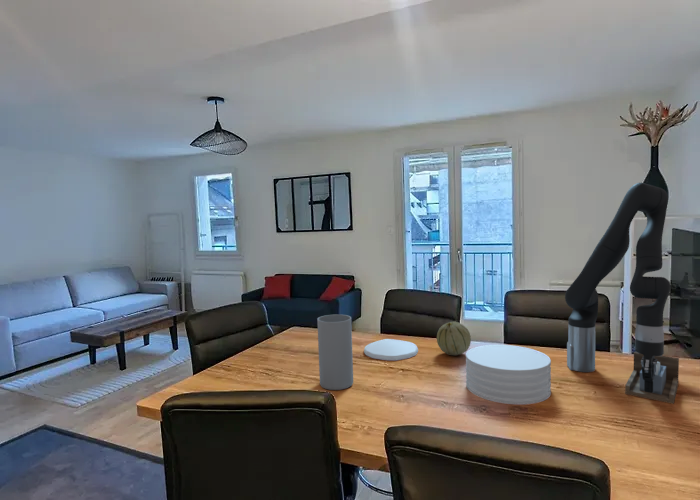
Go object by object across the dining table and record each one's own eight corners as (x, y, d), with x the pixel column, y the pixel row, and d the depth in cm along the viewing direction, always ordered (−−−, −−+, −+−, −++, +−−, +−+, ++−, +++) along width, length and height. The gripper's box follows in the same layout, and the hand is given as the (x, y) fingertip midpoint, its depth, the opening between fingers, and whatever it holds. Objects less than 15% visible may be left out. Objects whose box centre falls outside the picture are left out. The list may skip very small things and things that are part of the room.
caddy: (661, 394, 138) (662, 371, 138) (639, 390, 142) (639, 367, 142) (665, 383, 147) (666, 361, 146) (644, 379, 151) (645, 357, 150)
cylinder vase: (357, 379, 163) (355, 315, 161) (346, 392, 151) (344, 323, 149) (327, 376, 167) (325, 313, 165) (314, 389, 155) (311, 321, 153)
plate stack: (510, 412, 132) (510, 376, 131) (449, 383, 157) (449, 352, 156) (568, 392, 145) (569, 360, 144) (504, 368, 170) (504, 340, 169)
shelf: (673, 403, 134) (674, 375, 133) (625, 393, 142) (625, 366, 142) (678, 383, 149) (678, 358, 148) (634, 376, 158) (634, 351, 157)
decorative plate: (401, 355, 179) (353, 346, 194) (402, 364, 179) (353, 355, 194) (427, 340, 199) (382, 333, 214) (427, 349, 200) (382, 341, 214)
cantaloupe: (475, 352, 191) (474, 319, 190) (465, 362, 179) (464, 326, 178) (443, 347, 199) (443, 316, 198) (431, 356, 187) (431, 323, 186)
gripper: (661, 344, 129) (660, 400, 130) (666, 336, 139) (665, 388, 140) (631, 341, 134) (631, 395, 135) (638, 332, 144) (638, 383, 145)
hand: (648, 391), depth 138 cm, fingers closed
